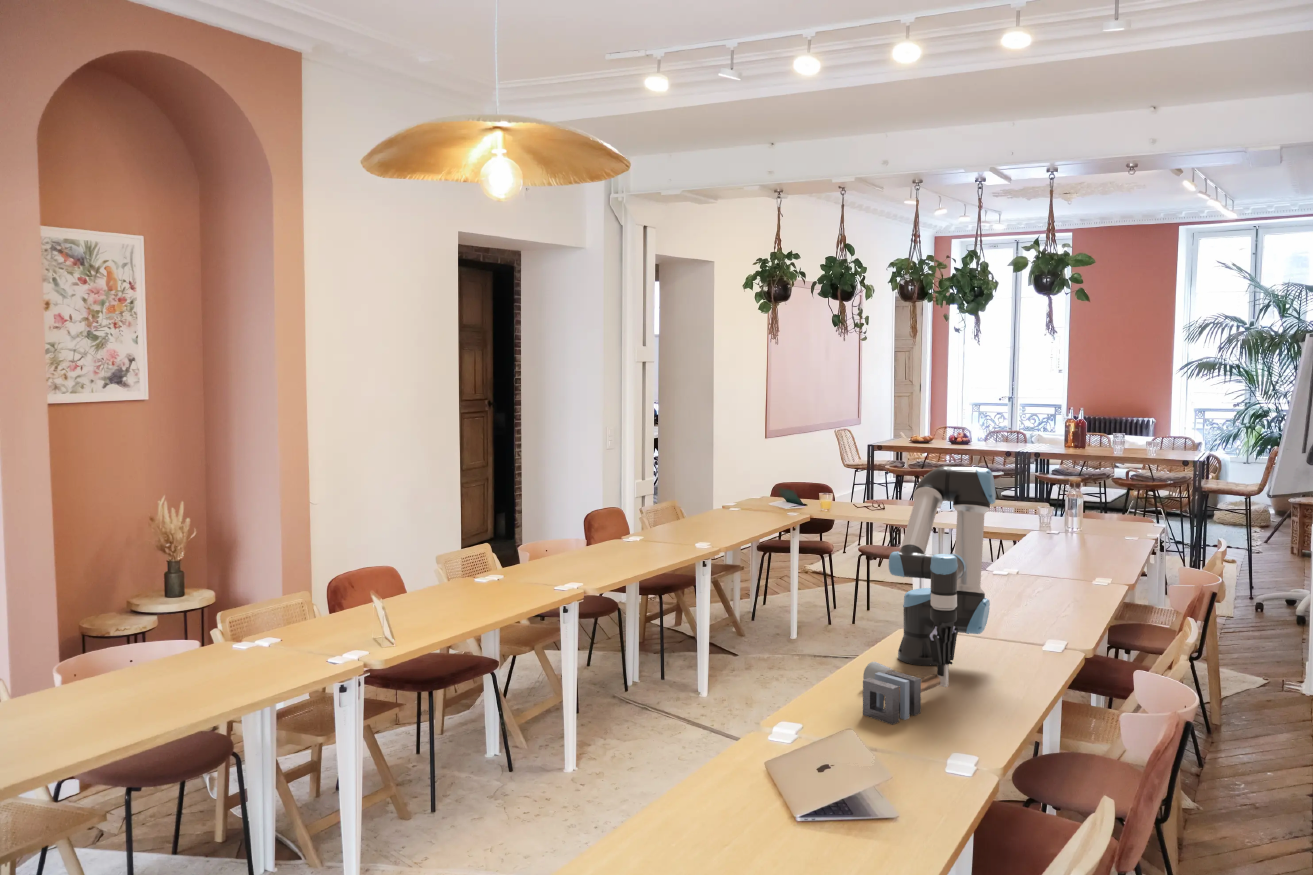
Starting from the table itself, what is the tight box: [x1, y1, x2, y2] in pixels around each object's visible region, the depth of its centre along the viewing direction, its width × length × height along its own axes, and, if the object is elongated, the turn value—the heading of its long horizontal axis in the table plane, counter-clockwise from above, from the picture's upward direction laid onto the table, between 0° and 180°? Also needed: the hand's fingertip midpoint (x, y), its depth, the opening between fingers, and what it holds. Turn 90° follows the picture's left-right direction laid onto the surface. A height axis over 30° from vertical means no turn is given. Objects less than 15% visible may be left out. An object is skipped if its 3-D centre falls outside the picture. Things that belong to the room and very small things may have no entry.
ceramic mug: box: [862, 661, 895, 680], centre depth 296 cm, size 11×8×8 cm
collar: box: [862, 678, 900, 725], centre depth 271 cm, size 3×10×10 cm, turn 40°
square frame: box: [885, 670, 922, 717], centre depth 277 cm, size 3×10×10 cm, turn 40°
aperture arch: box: [875, 672, 910, 721], centre depth 274 cm, size 2×10×11 cm, turn 40°
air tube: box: [899, 673, 941, 701], centre depth 281 cm, size 20×4×4 cm, turn 130°
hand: (942, 685), depth 290 cm, fingers closed
